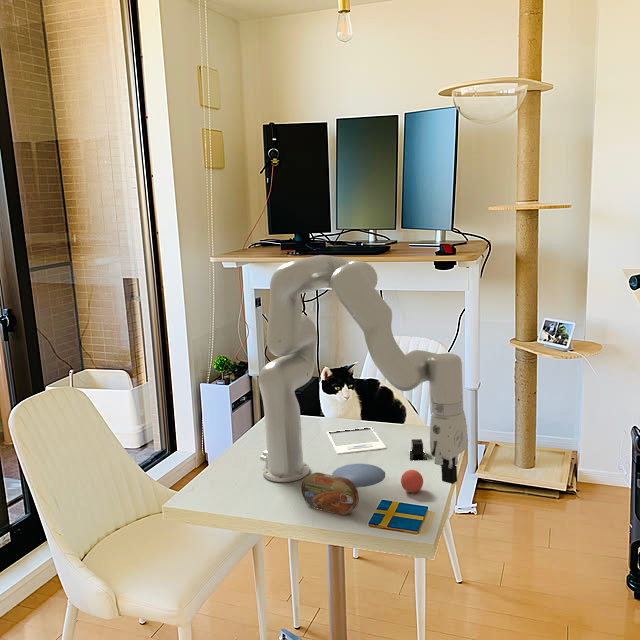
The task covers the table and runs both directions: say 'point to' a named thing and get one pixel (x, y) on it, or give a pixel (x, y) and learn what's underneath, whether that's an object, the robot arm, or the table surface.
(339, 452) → the photo frame
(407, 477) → the ball
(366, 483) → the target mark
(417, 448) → the black block
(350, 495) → the tin
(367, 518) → the table surface
